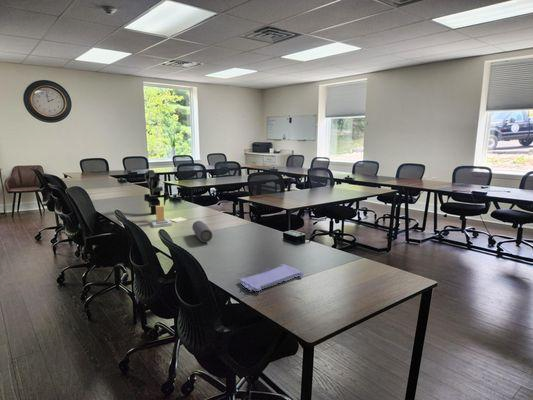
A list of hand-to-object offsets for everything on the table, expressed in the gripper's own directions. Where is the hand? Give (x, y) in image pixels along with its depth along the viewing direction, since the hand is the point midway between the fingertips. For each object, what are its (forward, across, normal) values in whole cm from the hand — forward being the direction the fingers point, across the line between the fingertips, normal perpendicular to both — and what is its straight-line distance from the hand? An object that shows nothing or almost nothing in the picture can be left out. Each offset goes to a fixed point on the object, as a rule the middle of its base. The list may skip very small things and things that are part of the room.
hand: (158, 205), depth 258 cm
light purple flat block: (+103, +31, -84) cm, 137 cm away
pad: (+11, +14, +6) cm, 19 cm away
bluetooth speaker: (+50, +19, -32) cm, 62 cm away
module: (+13, 0, +4) cm, 14 cm away
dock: (+15, 0, +3) cm, 15 cm away
